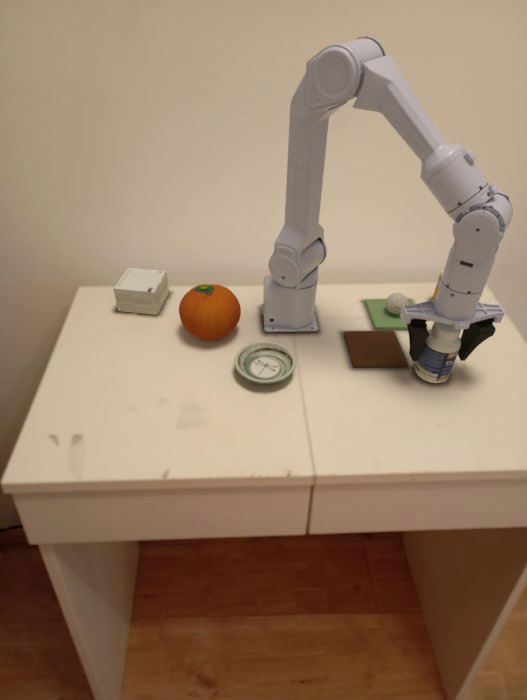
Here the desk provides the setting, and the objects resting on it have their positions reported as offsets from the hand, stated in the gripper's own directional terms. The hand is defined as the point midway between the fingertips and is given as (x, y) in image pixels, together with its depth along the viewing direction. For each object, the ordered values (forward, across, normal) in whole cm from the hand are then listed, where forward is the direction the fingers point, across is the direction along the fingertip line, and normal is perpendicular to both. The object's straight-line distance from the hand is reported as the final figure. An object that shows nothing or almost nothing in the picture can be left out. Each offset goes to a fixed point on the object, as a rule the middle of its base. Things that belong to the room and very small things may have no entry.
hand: (436, 356), depth 74 cm
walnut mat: (+3, -8, +6) cm, 11 cm away
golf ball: (+3, -2, +16) cm, 16 cm away
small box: (+4, -49, +21) cm, 53 cm away
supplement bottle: (+4, +9, +19) cm, 21 cm away
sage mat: (+3, -2, +16) cm, 16 cm away
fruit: (+4, -36, +12) cm, 38 cm away
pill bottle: (+4, 0, 0) cm, 4 cm away
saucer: (+4, -27, +1) cm, 27 cm away
